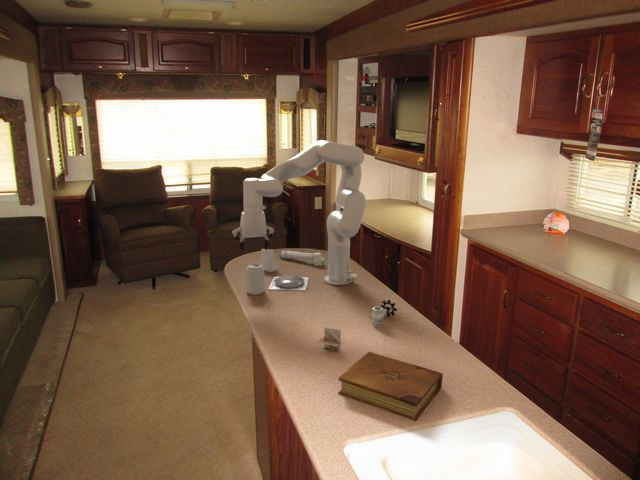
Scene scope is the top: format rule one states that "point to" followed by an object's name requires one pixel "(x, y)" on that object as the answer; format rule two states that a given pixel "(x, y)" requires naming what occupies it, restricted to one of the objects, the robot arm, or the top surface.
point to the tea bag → (268, 260)
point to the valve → (382, 313)
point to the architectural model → (331, 339)
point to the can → (255, 279)
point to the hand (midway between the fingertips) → (253, 250)
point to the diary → (391, 385)
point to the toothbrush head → (303, 256)
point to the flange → (289, 283)
